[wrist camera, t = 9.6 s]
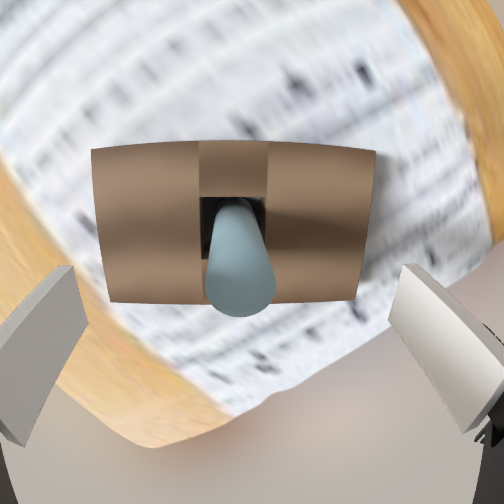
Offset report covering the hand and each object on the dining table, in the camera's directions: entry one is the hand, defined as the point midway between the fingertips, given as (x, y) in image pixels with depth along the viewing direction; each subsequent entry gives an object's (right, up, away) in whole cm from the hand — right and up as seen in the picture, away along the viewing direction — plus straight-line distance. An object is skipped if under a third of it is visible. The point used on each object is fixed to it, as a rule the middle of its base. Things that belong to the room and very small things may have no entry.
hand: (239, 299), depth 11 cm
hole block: (-1, +5, +13) cm, 14 cm away
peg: (-1, +5, +13) cm, 14 cm away
